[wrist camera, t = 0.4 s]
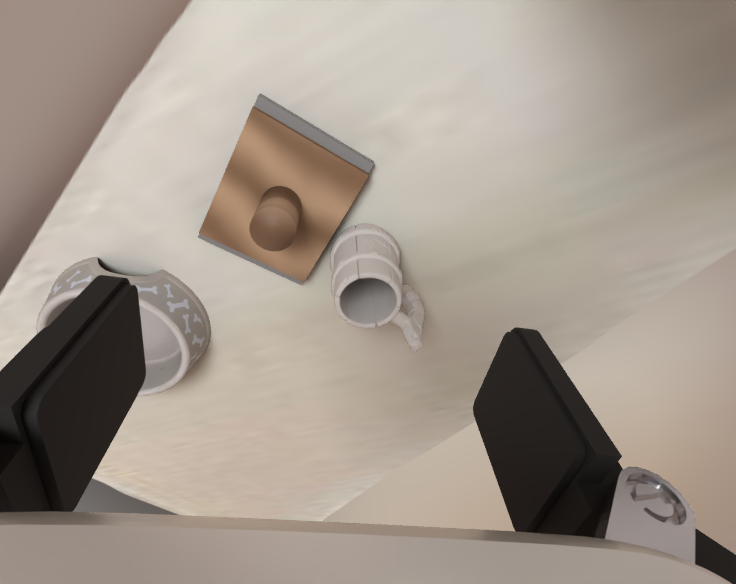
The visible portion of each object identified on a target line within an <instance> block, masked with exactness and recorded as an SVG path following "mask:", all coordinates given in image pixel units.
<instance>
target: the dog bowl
mask: <svg viewBox="0 0 736 584" xmlns="http://www.w3.org/2000/svg"><path fill="white" fill-rule="evenodd" d="M99 275H107V276H114V277H122V278H127V279H128V280H129V282H130V285H135V286H136V287H137V289H138V297H139V307H140V316H141V326H142V336H143V345H144V355H145V364H146V377H145V381H144V384H143V386H142V388H141V389H140V391H139V393H138V395H137V396H147V395H152V394H157V393H160V392H163V391H165V390H167V389H169V388H171V387H173V386H174V385H176V384H177V383H178V382H179V381H180V380H181V379H182V378H183V377H184V376H185V374H186V373H187V372H188V371H189V369H190V368H191V367H192V366H193V364H194V363H195V362H196V361H197V360H198V359H199V358H200V357H201V356H202V354H203V353H204V352H205V350H206V348H207V346H208V344H209V340H210V335H211V327H210V321H209V317H208V314H207V312H206V310H205V308H204V306H203V304H202V303H201V301H200V300H199V298H198V297H197V296H196V295H195V293H194V292H193V291H192V290H191V289H190V288H189V287H188V286H187V285H185V284H184V283H183V282H182V281H180V280H179V279H178V278H176V277H175V276H173V275H172V274H170V273H169V272H167V271H165V270H161V271H159V272H157V273H155V274H152V275H147V276H126V275H121V274H116V273H112V272H109V271H106V270H104V269H103V268H102V267H101V266H100V265H99V263H98V258H97V257H92V258H88V259H85V260H82V261H80V262H77V263H75V264H74V265H72V266H70V267H69V268H68V269H66V270H65V271H64V272H63V273H62V274H61V275H60V276H59V277H58V279H57V280H56V281H55V283H54V285H53V287H52V289H51V292H50V294H49V296H48V298H47V300H46V302H45V304H44V305H43V307H42V309H41V311H40V313H39V315H38V319H37V325H36V330H37V334H38V333H39V332H40V331H41V330H42V329H44V328H45V327H48V326H49V325H50V324H51V323H52V322H53V321H54V320H55V319H56V318H57V317H58V316H59V315H60V314H61V312H62V311H63V310H64V309H65V308H66V307H67V306H68V305H69V304H70V303H71V302H72V301H73V300H74V299H75V298H76V297H77V296H78V295H79V294H80V293H81V292H82V291H83V290H84V289H85V288H86V287H87V286H88V285H89V284H90V283H91V282H92V281H93V280H94V279H95V278H96V277H97V276H99ZM161 369H162V370H161Z"/></svg>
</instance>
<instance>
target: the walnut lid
mask: <svg viewBox="0 0 736 584" xmlns="http://www.w3.org/2000/svg"><path fill="white" fill-rule="evenodd" d="M368 177H369V173H367V172H366V171H364V170H362V169H361V168H359V167H357V166H355V165H354V164H352V163H350V162H349V161H347V160H345V159H344V158H342V157H340V156H338V155H337V154H335V153H333V152H332V151H330V150H328V149H327V148H325V147H323V146H321V145H320V144H318V143H316V142H315V141H313V140H311V139H310V138H308V137H306V136H304V135H303V134H301V133H299V132H298V131H296V130H294V129H293V128H291V127H289V126H287V125H286V124H284V123H282V122H281V121H279V120H277V119H276V118H274V117H272V116H270V115H269V114H267V113H265V112H264V111H262V110H260V109H259V108H257V107H255V106H253V107H252V110H251V112H250V114H249V117H248V119H247V121H246V124H245V126H244V128H243V131H242V133H241V135H240V138H239V140H238V142H237V145H236V147H235V150H234V152H233V154H232V157H231V159H230V161H229V164H228V166H227V168H226V171H225V173H224V175H223V178H222V180H221V182H220V185H219V187H218V189H217V192H216V194H215V196H214V199H213V201H212V203H211V206H210V208H209V211H208V213H207V215H206V218H205V220H204V222H203V225H202V227H201V229H200V232H199V233H200V234H202V235H204V236H206V237H208V238H210V239H212V240H215V241H217V242H219V243H221V244H223V245H225V246H228V247H230V248H232V249H234V250H236V251H238V252H240V253H243V254H245V255H247V256H249V257H251V258H253V259H255V260H258V261H260V262H262V263H264V264H266V265H268V266H270V267H273V268H275V269H277V270H279V271H281V272H283V273H286V274H288V275H290V276H292V277H294V278H296V279H298V280H301V281H303V282H304V281H305V280H306V278H307V276H308V275H309V273H310V272H311V270H312V268H313V267H314V265H315V263H316V262H317V260H318V258H319V257H320V255H321V254H322V252H323V250H324V249H325V247H326V245H327V244H328V242H329V240H330V239H331V237H332V236H333V234H334V232H335V231H336V229H337V227H338V226H339V224H340V222H341V221H342V219H343V218H344V216H345V214H346V213H347V211H348V209H349V208H350V206H351V204H352V203H353V201H354V200H355V198H356V196H357V195H358V193H359V191H360V190H361V188H362V187H363V185H364V183H365V182H366V180H367V178H368Z"/></svg>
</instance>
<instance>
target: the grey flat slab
mask: <svg viewBox="0 0 736 584" xmlns="http://www.w3.org/2000/svg"><path fill="white" fill-rule="evenodd" d="M254 106H255V107H257V108H259V109H260V110H262V111H264V112H265V113H267V114H269V115H270V116H272V117H274V118H276V119H277V120H279V121H281V122H282V123H284V124H286V125H287V126H289V127H291V128H293V129H294V130H296V131H298V132H299V133H301V134H303V135H304V136H306V137H308V138H310V139H311V140H313V141H315V142H316V143H318V144H320V145H321V146H323V147H325V148H327V149H328V150H330V151H332V152H333V153H335V154H337V155H338V156H340V157H342V158H344V159H345V160H347V161H349V162H350V163H352V164H354V165H355V166H357V167H359V168H361V169H362V170H364V171H366V172H367V173H369V172H370V170H371V169H372V167H373V165H374V162H373V161H372V160H370V159H369V158H367V157H365V156H364V155H362V154H360V153H359V152H357V151H355V150H354V149H352V148H350V147H349V146H347V145H345V144H344V143H342V142H340V141H339V140H337V139H335V138H334V137H332V136H330V135H329V134H327V133H325V132H324V131H322V130H320V129H319V128H317V127H315V126H314V125H312V124H310V123H309V122H307V121H305V120H304V119H302V118H300V117H299V116H297V115H295V114H294V113H292V112H290V111H289V110H287V109H285V108H284V107H282V106H280V105H279V104H277V103H275V102H274V101H272V100H270V99H269V98H267V97H265V96H264V95H262V94H259V96H258V98H257V100H256V103H255V105H254ZM198 238H200V239H203V240H205V241H207V242H209V243H211V244H213V245H216V246H218V247H220V248H222V249H224V250H226V251H229V252H231V253H233V254H235V255H237V256H239V257H242V258H244V259H246V260H248V261H250V262H252V263H255V264H257V265H259V266H261V267H263V268H265V269H268V270H270V271H272V272H274V273H276V274H278V275H281V276H283V277H285V278H287V279H289V280H291V281H294V282H296V283H298V284H300V285H301V284H302V282H303V281H301V280H298V279H296V278H294V277H292V276H290V275H288V274H286V273H283V272H281V271H279V270H277V269H275V268H273V267H270V266H268V265H266V264H264V263H262V262H260V261H258V260H255V259H253V258H251V257H249V256H247V255H245V254H243V253H240V252H238V251H236V250H234V249H232V248H230V247H228V246H225V245H223V244H221V243H219V242H217V241H215V240H212V239H210V238H208V237H206V236H204V235H202V234H199V236H198Z"/></svg>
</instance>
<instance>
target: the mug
mask: <svg viewBox="0 0 736 584" xmlns="http://www.w3.org/2000/svg"><path fill="white" fill-rule="evenodd" d="M330 265H331V270H332V271H333V274H332V279H331V288H332V290H331V291H332V294H333V296H334V304H335V308H336V311H337V313H338V314H339V316H340V317H341V318H342V319H344V320H345V321H347V323H349V324H350V325H353V326H356V327H360V328H374V327H376V324H377V326H381V325H384V324H386V323H388V322H389V321H391V322H393V323H394V324H396V325H397V326H399V327H400V328H401V329H402V332H403V334H404V337H405V340H406V342H407V344H408V345H409V347H410V348H411V349H412V350H413V351H417V350H418V349H419V348H420V347H421V346H422V340H421V334H422V328H423V322H424V316H425V311H424V308H423V305H422V303H421V300H420V298H419V296H418V294H417V293H416V292H414V290H413V289H412V287H411V286H410V285H407V284H406V285H404V284H402V282H403V280H402V271H401V270H400V269H399V265H400V250H399V248H398V246H397V244H396V242H395V241H394V239H393V238H392V237H391V236H390V235H389V234H388V233H387V232H385V231H384V230H382V228H380V227H378V226H375V225H371V224H359V225H357V227H355V226H351V227H349V228H348V229H346V230H345V231H344V232H342V233H341V234H340V235H339V237H338V238H337V240H336V241H335V243H334V244H333V247H332V249H331V253H330ZM401 303H402V305H403V306H404V308H405V309H406V310H407V314H408V316H407V315H406V314H404V313H403V312H402V311H400V310H399V309H400V307H401Z"/></svg>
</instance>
